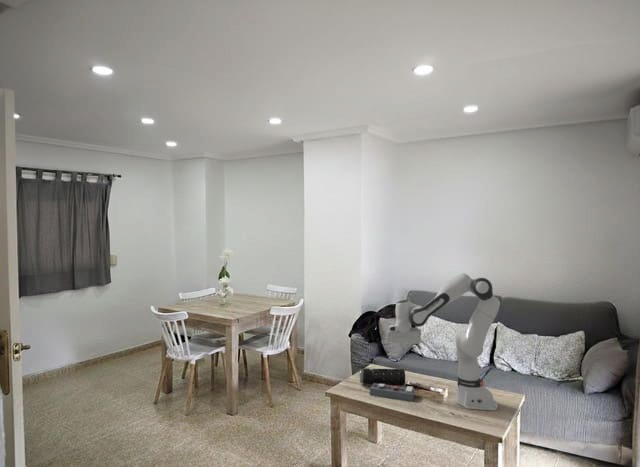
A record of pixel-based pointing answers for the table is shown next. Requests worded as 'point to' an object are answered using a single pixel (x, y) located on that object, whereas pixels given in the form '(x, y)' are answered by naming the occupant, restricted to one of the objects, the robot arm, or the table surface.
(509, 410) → the table surface
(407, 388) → the rocker
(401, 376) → the muzzle brake
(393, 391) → the strip housing
